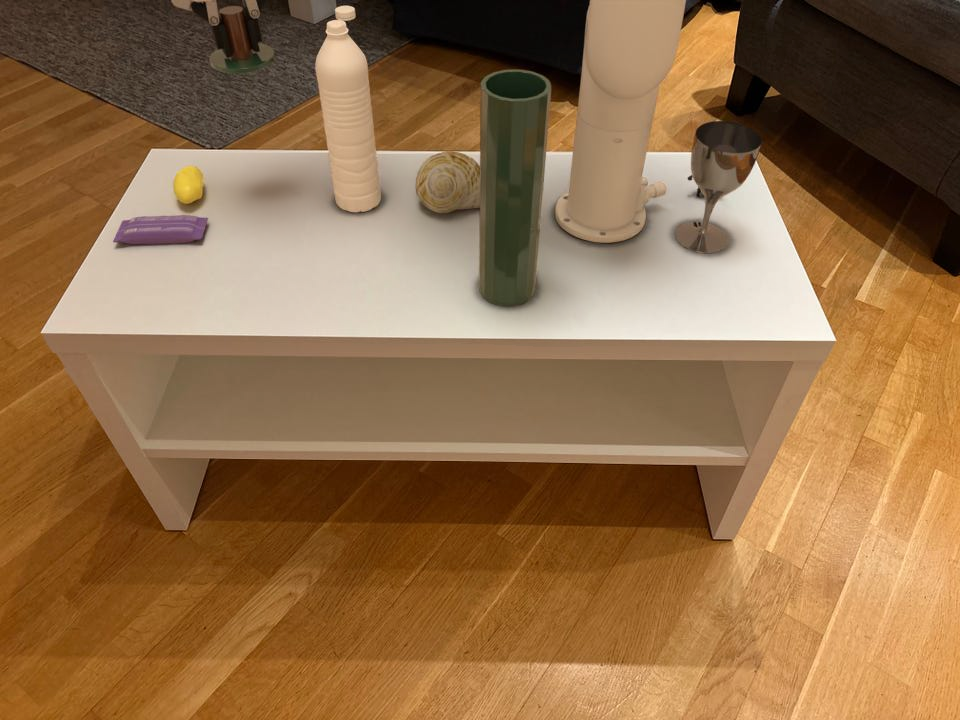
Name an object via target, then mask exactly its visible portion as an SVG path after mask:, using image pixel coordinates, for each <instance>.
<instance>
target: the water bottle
mask: <svg viewBox="0 0 960 720" xmlns="http://www.w3.org/2000/svg"><path fill="white" fill-rule="evenodd" d="M334 14H335V19H333V20H329V21H328V22H327V23H326V30H325V33H326V37H325V39H324V41H323V43H322V45H321V47H320V49H319V51H318V53H317V55H316V58H315V66H314V68H315V77H316V80H317V85H318V93H319V100H320V106H321V107H320V108H321V112H322V120H323V127H324V134H325V137H326V139H325V140H326V147H327V150H328V160H329V162H330V173H331V179H332V180H331V181H332V185H333V194H334V198H335V203H336V205H337V206H338V207H339V209H340V210H343V211H347V212H349V213H360V212H361V213H363V212H365V213H366V212H369V211H370V210H373V209H374V208H376V207H378V205H379V204H380V202H381V200H382V194H381V193H382V192H381V184H380V175H379V165H378V163H379V162H378V158H377V147H376V136H375V124H374V117H373V110H372V109H373V107H372V98H371V88H370V80H369V66H368V65H369V64H368V61H367V57H366V55H365V54H364V52H363V51H362V50H361V48H360V47H359V46H358V44H357V43H356V42H355V41H354V39H353V38H351V36H350V35H349V34H348V33H349V28H348V27H347V23H346V22H347V21H352V20H354V19H355V18H356V8H355V7H353V6H350V5H340V6H337V7H335V9H334Z"/></svg>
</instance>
